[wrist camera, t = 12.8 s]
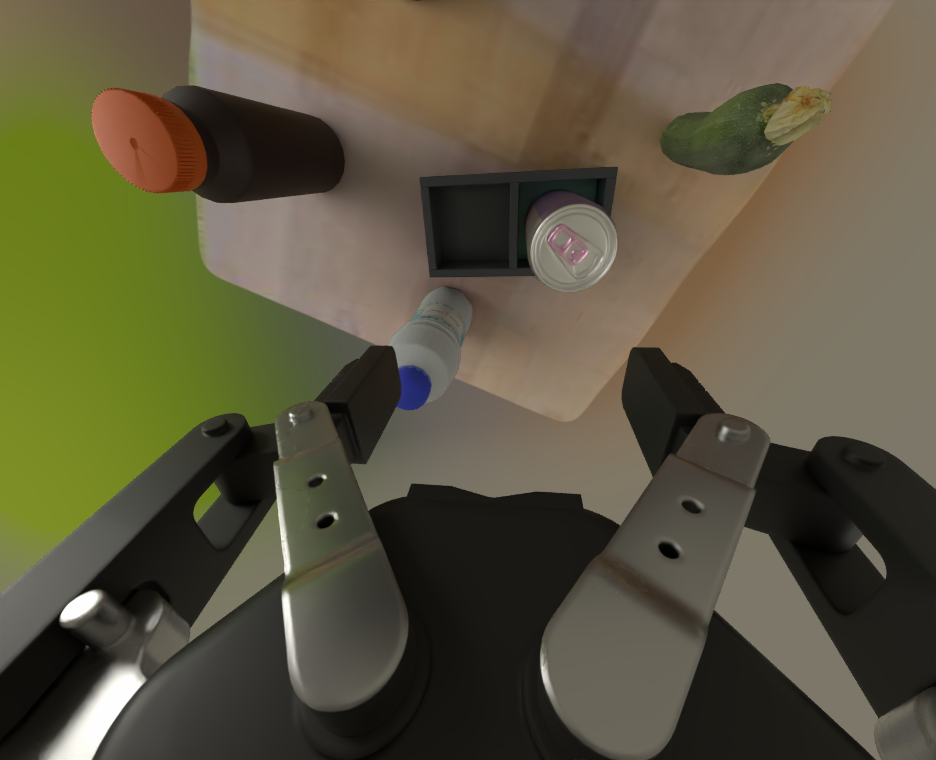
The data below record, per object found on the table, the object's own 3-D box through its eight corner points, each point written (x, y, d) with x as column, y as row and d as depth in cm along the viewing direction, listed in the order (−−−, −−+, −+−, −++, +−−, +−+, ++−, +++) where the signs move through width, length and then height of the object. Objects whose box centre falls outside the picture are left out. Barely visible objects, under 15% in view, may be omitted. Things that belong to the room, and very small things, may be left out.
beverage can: (555, 174, 33) (577, 177, 21) (597, 217, 35) (641, 245, 22) (513, 225, 36) (509, 256, 23) (553, 263, 38) (570, 312, 25)
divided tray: (431, 176, 36) (419, 177, 32) (605, 167, 33) (618, 166, 29) (439, 266, 41) (429, 277, 36) (592, 263, 38) (601, 275, 34)
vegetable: (701, 150, 32) (905, 130, 15) (654, 183, 34) (788, 199, 17) (682, 103, 30) (884, 21, 13) (634, 140, 32) (759, 109, 15)
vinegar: (354, 186, 37) (217, 200, 20) (299, 197, 39) (126, 219, 22) (332, 108, 34) (145, 48, 17) (272, 123, 35) (43, 80, 18)
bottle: (486, 300, 42) (462, 389, 25) (458, 341, 45) (421, 444, 28) (439, 269, 41) (380, 341, 24) (414, 314, 44) (347, 404, 27)
